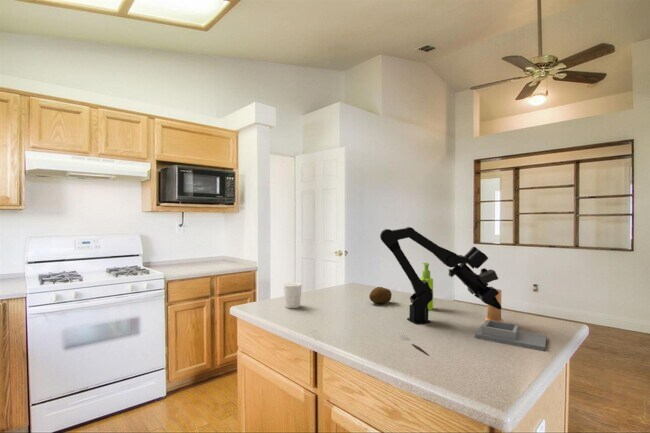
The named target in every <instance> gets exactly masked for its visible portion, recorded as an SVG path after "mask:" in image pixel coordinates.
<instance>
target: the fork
mask: <svg viewBox="0 0 650 433" xmlns="http://www.w3.org/2000/svg"><path fill="white" fill-rule="evenodd" d="M398 335H399V336H400V338H401V340H402V342H407V341H410V339H409V337H408V335H407V334H406V332H404V333H402V332H401V333H400V332H399V333H398ZM409 344H410V345H411V346H413V348H414V349H416V350H418V351H419V352H422V353H423V354H424V355H427V356H428V357H429V356H430V354H429V353H428V352H426V351H425V350H424V349H422V348H421V347H420V346H418V345H416V344H414V343H412V342H409Z"/></svg>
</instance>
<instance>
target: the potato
mask: <svg viewBox="0 0 650 433" xmlns="http://www.w3.org/2000/svg"><path fill="white" fill-rule="evenodd" d="M391 299H392V292H391V290H390V289H389V288H386V287H382V286H378V287H375V288H373V289H372V290H371V292H370V293H369V300H370V301H371V302H372V303H375V304H387V303H389V302H390V301H391Z"/></svg>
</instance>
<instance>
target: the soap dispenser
mask: <svg viewBox="0 0 650 433" xmlns="http://www.w3.org/2000/svg"><path fill="white" fill-rule="evenodd" d="M422 265H424V266H423V268H424V269H423V270H422V273H421V274H422V276H421V277H419V278H420V280H421V281H422V280H424V279H425V280H426V281H427V282H428V285H429V287H430V288H431V289H432V290H433V291H431V292H432V294H433V295H434V279H433V278H432V277H431V270H429V266H430V263H428V262H422ZM433 309H434V298H433V299H432V300H431V302H429V303H428V311H432V310H433Z"/></svg>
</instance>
